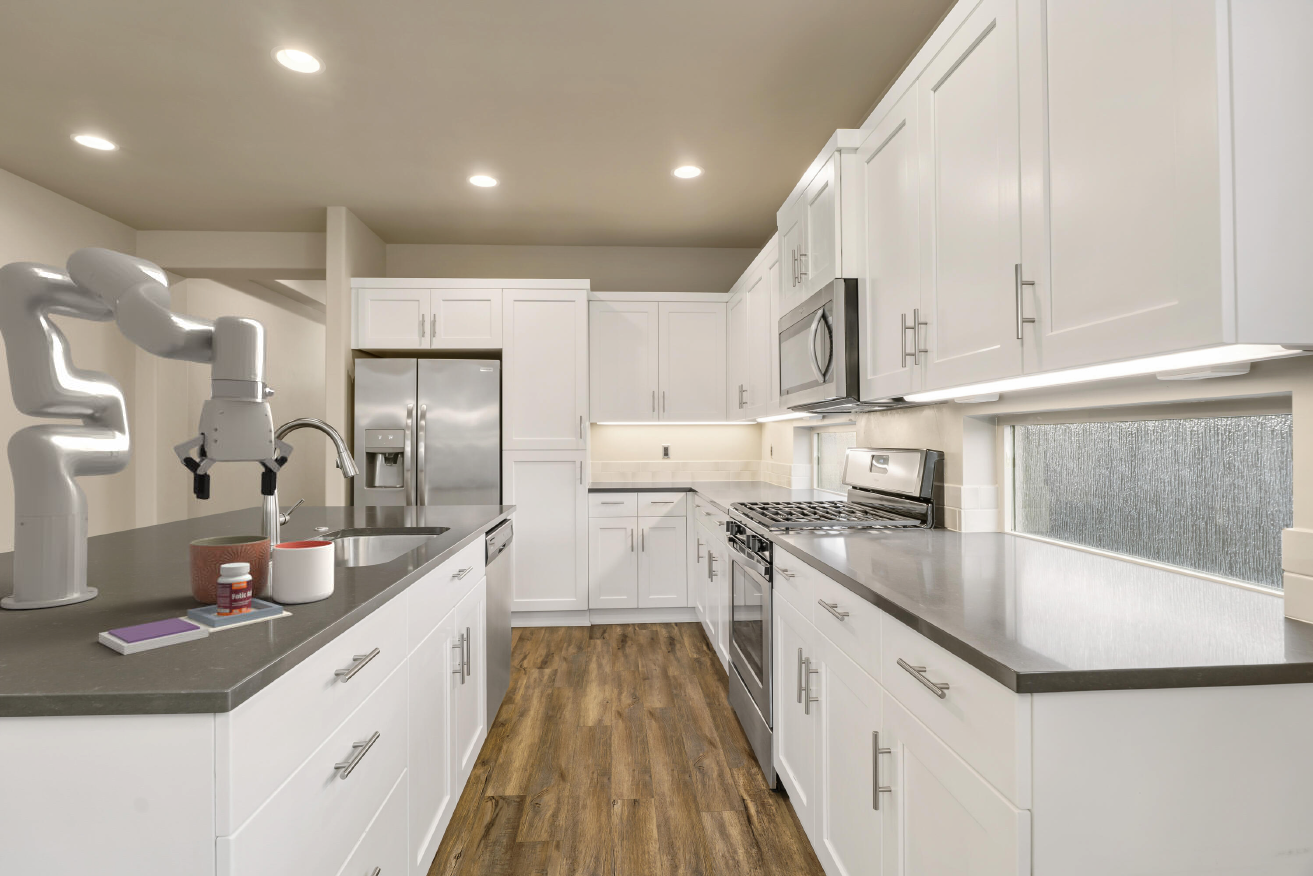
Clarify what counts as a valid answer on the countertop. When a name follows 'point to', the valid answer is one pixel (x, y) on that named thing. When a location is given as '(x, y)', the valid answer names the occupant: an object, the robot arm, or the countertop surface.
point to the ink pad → (152, 635)
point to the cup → (302, 571)
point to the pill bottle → (234, 589)
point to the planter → (227, 562)
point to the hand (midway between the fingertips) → (236, 497)
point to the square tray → (235, 616)
